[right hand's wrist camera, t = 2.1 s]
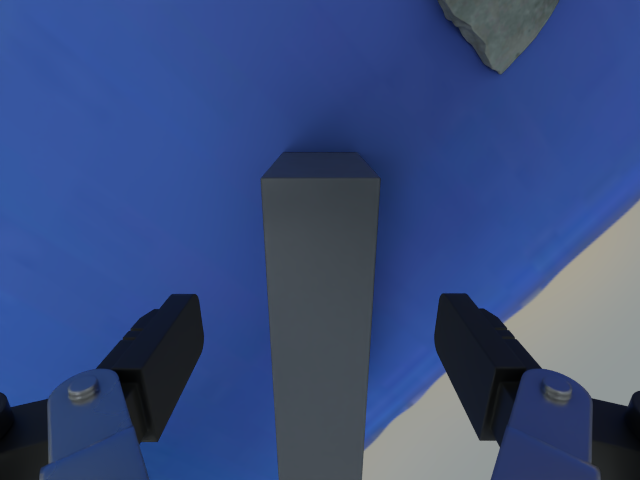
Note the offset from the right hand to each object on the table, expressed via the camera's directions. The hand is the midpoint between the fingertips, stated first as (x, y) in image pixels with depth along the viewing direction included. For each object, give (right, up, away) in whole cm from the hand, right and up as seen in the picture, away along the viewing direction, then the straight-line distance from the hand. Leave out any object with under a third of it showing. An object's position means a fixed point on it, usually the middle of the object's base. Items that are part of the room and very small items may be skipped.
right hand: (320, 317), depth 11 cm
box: (0, -1, +19) cm, 19 cm away
